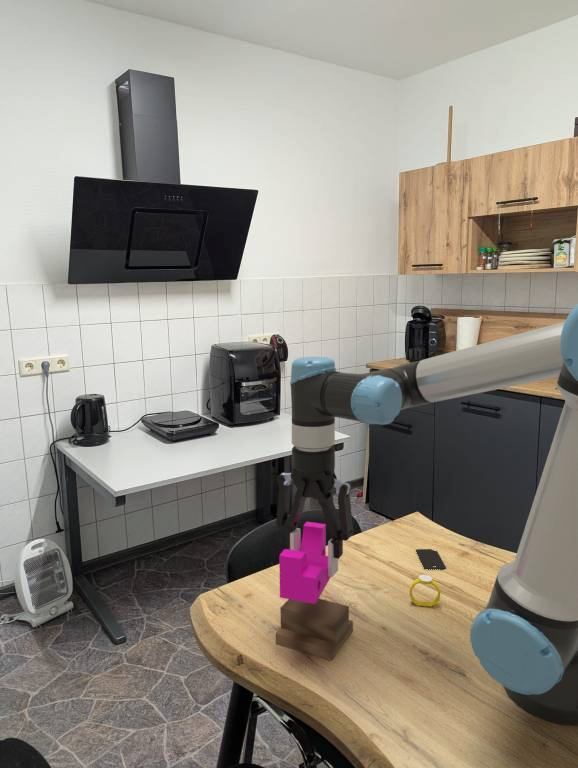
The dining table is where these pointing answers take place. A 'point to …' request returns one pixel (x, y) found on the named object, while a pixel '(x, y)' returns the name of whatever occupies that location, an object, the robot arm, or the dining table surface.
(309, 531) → the toy block
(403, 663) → the dining table surface
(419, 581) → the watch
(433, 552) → the black smartphone
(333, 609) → the brown stepped wooden stand
